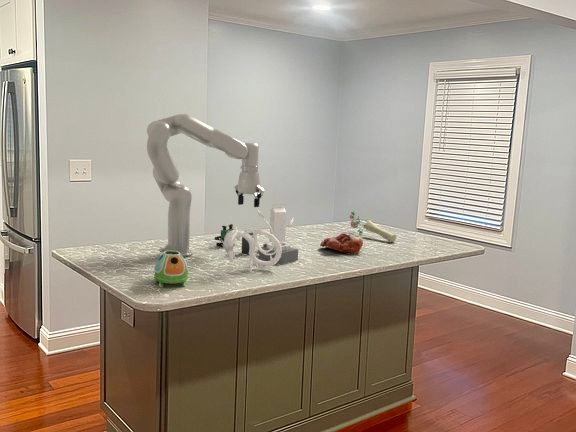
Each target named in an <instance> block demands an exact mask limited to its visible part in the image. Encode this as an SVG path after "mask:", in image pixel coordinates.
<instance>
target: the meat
mask: <svg viewBox="0 0 576 432" xmlns="http://www.w3.org/2000/svg"><path fill="white" fill-rule="evenodd" d="M363 244H364V240H363V239H362V238H359V239H358V238H356V237H352V236H351V234H350V233H347V232H344V233H343V232H342V233H340V234H338V235H337V236H332V237H327V238H324V239H323V240H321V243H320V245H319V246H320V247H323V248H324V247H327V248H328V249H331V250H335V251H337V252H340V253H343V254H348V255H359V252H360V251H361V249H362V247H363Z"/></svg>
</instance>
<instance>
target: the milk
mask: <svg viewBox="0 0 576 432" xmlns="http://www.w3.org/2000/svg"><path fill="white" fill-rule="evenodd" d="M269 218H270V219H269V221H270V222H269V225H270V226H271V228H272V231H273V234H274V236H275V237H276V238H277V240H278V241H279V242H282V240H283V238H284V236H285V234H286V231H287V230H286V227H287V226H286V225H287V210H286V209H285V204H272V208H271V209H270V216H269ZM270 226H269V233H270V234H272V231H271V228H270ZM273 234H272V235H273ZM285 237H286V236H285ZM268 239H269V238H268ZM269 242H273V241H272V240H271V239H269ZM283 242H286V238H285V239H284V241H283Z"/></svg>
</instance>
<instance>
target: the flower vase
mask: <svg viewBox="0 0 576 432" xmlns="http://www.w3.org/2000/svg"><path fill="white" fill-rule="evenodd" d="M350 213H351V214H349V219H351V221H350V226H351V228H353V229H357V228H359V225H360V226H361V227H362V228H359V229H358V230H357V233H358V234H359V236H360V235H362V234H363V233H364V232H363V230H362V229H365V231H367V232H371V233H374V234H377V235H378V236H380V237H381V238H383V239H385V240H386V241H387V242H389V243H391V242H393V243H395V241H396V240H397V235H396V234H395V233H391V232H390V231H387V230H385V229H382V228H381V227H379V226H378V225H377V224H376V223H374V222H372V221H371V220H369V219H368V220H367V221H366V223H364V224H363V222H362V221H361V220H360V217H359V215H358V217H357V218H355V217H354V216H356V212H355V210H353V212H352V211H351V212H350ZM361 233H362V234H361Z"/></svg>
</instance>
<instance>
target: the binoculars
mask: <svg viewBox="0 0 576 432" xmlns="http://www.w3.org/2000/svg"><path fill="white" fill-rule="evenodd" d="M221 226H222V230H220V235H218V236H217V235H216V236H215V237H214V240H215V241H219V242H215V245H216V246H222V247H223V246H224V244H223V242H224V237H225V236H226V234H228V233H229V232H230V231H232V230H234V231H235V228H234V224H232V223H231V224H228V229H227V225H221ZM227 232H228V233H227ZM225 238H226V237H225ZM235 240H236V238H235V239H234V241H235ZM222 241H223V242H222ZM224 247H225V246H224ZM224 247H223V248H224Z"/></svg>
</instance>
